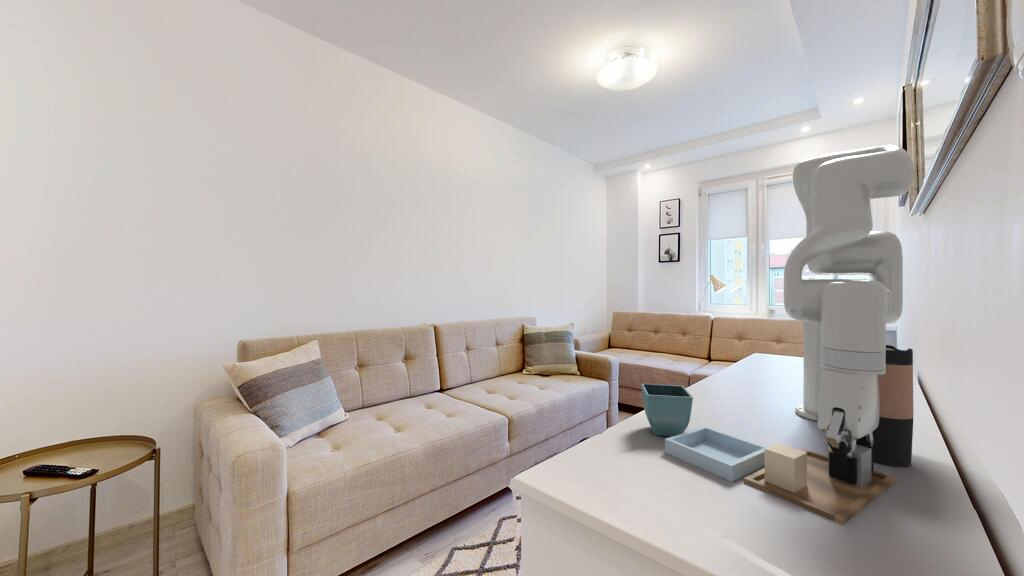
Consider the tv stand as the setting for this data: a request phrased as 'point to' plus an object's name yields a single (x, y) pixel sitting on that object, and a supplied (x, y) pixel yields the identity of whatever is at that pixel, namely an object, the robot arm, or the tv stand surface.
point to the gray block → (860, 465)
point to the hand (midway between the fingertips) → (851, 473)
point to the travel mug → (895, 410)
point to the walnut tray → (826, 490)
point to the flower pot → (667, 408)
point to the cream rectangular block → (786, 467)
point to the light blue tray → (717, 452)
